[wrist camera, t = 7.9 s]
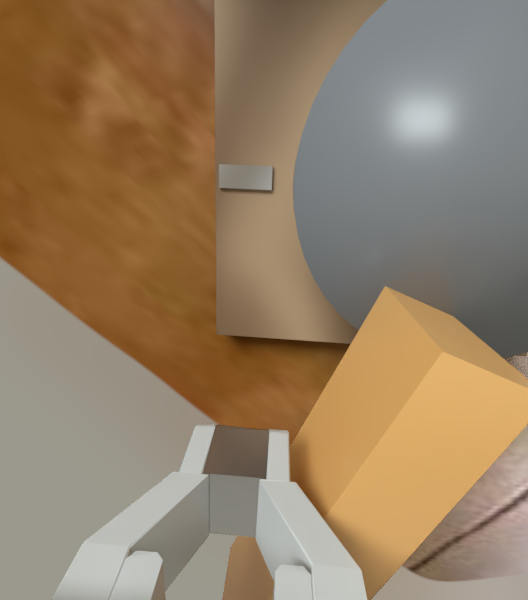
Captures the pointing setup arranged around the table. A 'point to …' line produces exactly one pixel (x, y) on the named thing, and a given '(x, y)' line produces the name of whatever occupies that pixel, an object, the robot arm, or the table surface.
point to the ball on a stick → (412, 275)
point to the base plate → (271, 161)
